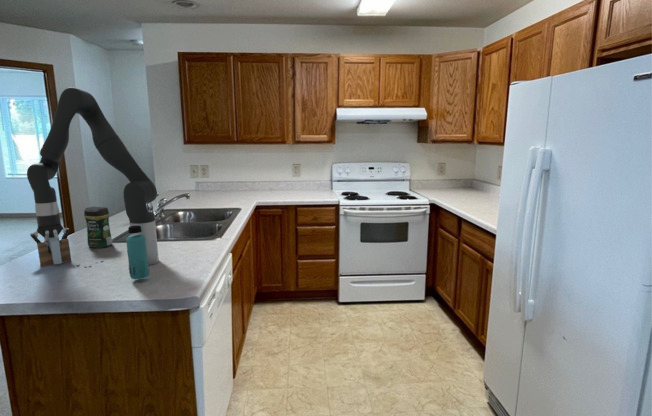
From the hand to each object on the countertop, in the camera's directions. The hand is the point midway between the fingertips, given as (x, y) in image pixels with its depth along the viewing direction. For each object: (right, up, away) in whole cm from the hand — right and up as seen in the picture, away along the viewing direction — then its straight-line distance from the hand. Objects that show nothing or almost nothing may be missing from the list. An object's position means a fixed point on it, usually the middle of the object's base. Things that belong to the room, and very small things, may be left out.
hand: (53, 254), depth 153 cm
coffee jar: (+7, +1, +21) cm, 22 cm away
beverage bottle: (+45, -7, -19) cm, 50 cm away
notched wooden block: (+2, -3, -2) cm, 5 cm away
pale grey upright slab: (+2, -2, -2) cm, 4 cm away
